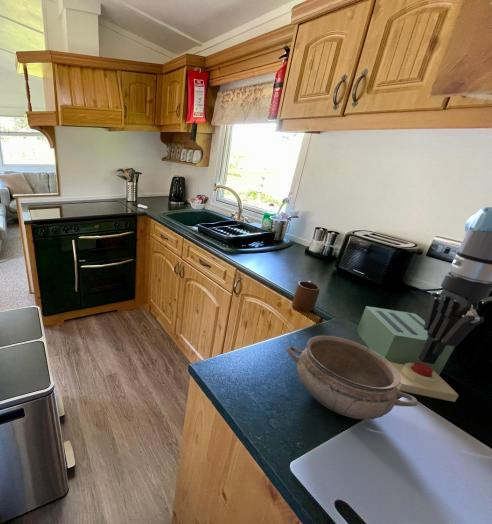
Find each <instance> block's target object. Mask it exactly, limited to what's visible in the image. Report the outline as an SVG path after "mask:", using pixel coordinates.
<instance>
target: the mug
mask: <svg viewBox="0 0 492 524" xmlns="http://www.w3.org/2000/svg"><path fill="white" fill-rule="evenodd" d="M320 290H321V287H320V286H319V285H317V284H316V283H314V282H313V281H312V280H308V281H305V280H304V281H301V280H300V281H298V283H297V286H296V288H295V292H294V295H293V299H292V304H291V305H292V306H293V307H294V308H295V309H297V310H299V311H303V312H312V311H313V310H315V307H316V303H317V301H318V297H319V294H320Z"/></svg>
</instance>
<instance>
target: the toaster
mask: <svg viewBox="0 0 492 524" xmlns="http://www.w3.org/2000/svg"><path fill="white" fill-rule="evenodd" d="M425 321H426V320H424V319H423V318H422V317H420V316H419V315H418V314H416V313H414V312H413V313H412V312H407V311H401V310H400V311H399V310H394V309H388V308H381V307H375V306H369V305H368V306H367V305H366V306H365V308H364V310H363V313H362V315H361V318H360V321H359V323H358V326H357V328H356V330H355V332H356V334H357V335H358V336H359V337H360V338H361V340H362V341H363V343H364V344H365V345H366V347H367V348H369V349H371V350H373V351H375V352H377V353H378V354H380V355H381V356H383V357H384V358H385V359H387V360H388V361H389V362H392V363H397V364H403V365H405V364H406V363H422V364H425V365H427V366H429V367H430V368H431V369H432V370H434V371H435V372H436V373H437V374H438V375H439V376H440V375H441V373H442V371H443V370H444V368H445V365H446V364H447V362H448V360H449V358H450V356H451V355H452V353H453V351H454V349H455V347H454V346H448V345H446V347H445V349H444V350H443V352H442V354H441V355H439V357H438V359H437V360H436V362H435V364H430V363H424V362H421V361H420V360H419V359H418V358H419V356H420V354H421V352H422V350H423V348H424V344H425V342H426V340H427V338H428V335H427V333H428V332H427V330H424V325H425Z"/></svg>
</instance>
